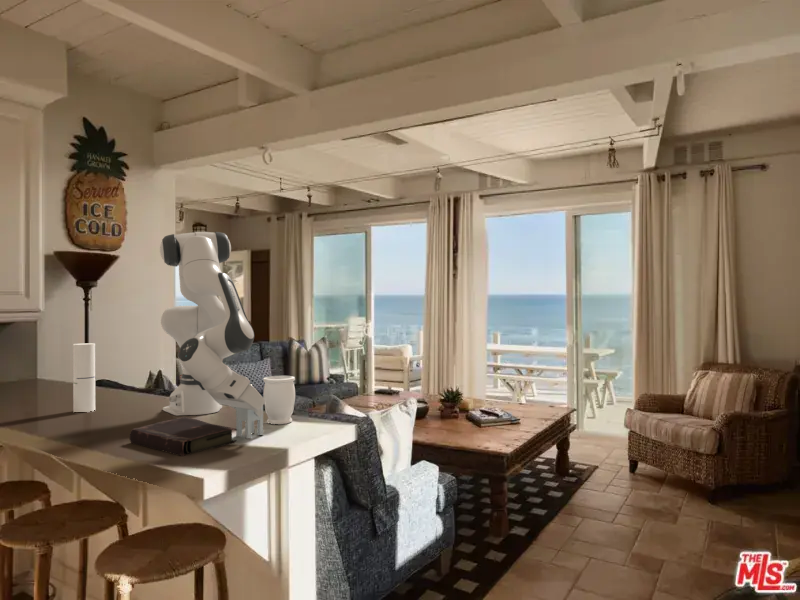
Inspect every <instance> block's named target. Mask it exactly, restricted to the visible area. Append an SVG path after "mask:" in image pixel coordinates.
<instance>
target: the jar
mask: <svg viewBox="0 0 800 600" xmlns="http://www.w3.org/2000/svg"><path fill="white" fill-rule="evenodd" d="M294 381H296V376H292V375H272V376H266V377H263V382H264V387H263V394H262V395H263V396H262V397H263V398H264V401H265V403H264V409H265V414H266V416H267V420H266V423H267V422H269V423H272V424H271V425H275V424H278V425H286V424H290V423H292V422H293V418H292V417H291V416H292V415H293V412H294V408H295V401H296V388H295V384H294ZM269 423H268V424H269Z"/></svg>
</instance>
